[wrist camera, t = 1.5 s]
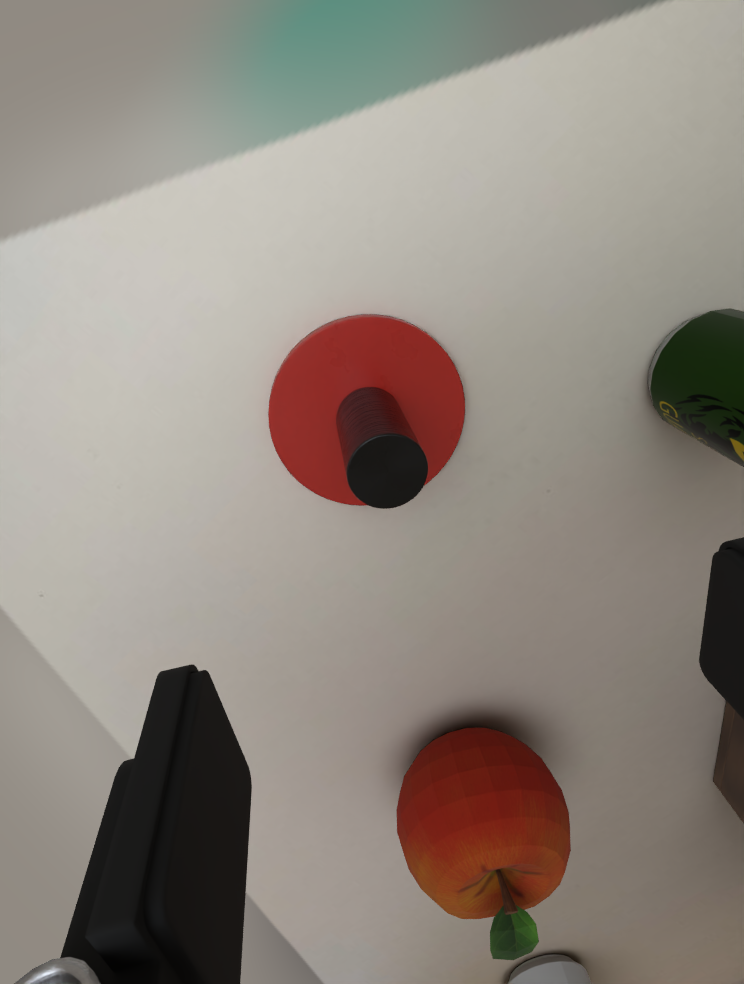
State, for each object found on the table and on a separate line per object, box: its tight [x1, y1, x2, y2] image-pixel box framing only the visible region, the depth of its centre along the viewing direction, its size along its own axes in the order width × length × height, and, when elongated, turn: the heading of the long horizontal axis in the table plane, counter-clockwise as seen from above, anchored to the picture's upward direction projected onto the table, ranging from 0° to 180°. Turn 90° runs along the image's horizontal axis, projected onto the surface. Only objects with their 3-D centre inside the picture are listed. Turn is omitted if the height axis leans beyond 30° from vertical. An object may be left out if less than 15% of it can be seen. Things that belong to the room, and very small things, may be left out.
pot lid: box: [268, 315, 465, 508], centre depth 22 cm, size 8×8×6 cm
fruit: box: [397, 727, 571, 960], centre depth 31 cm, size 10×10×10 cm
